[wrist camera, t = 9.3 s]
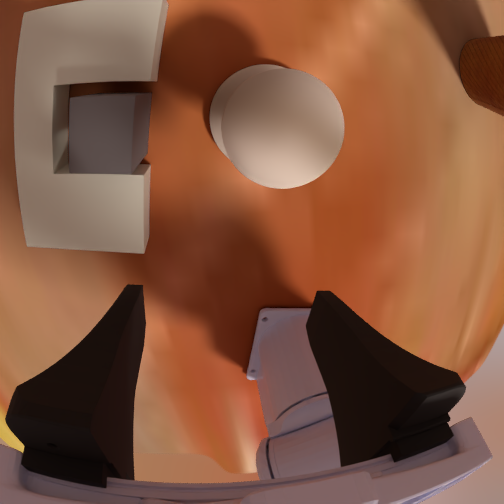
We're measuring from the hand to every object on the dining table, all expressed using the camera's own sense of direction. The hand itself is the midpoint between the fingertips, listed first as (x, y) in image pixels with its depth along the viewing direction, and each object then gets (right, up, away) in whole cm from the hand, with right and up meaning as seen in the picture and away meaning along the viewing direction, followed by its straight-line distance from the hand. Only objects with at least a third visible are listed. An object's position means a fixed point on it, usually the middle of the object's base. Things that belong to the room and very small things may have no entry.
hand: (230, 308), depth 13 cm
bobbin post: (+2, +11, +6) cm, 13 cm away
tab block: (-7, +10, +5) cm, 14 cm away
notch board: (-10, +11, +4) cm, 15 cm away
